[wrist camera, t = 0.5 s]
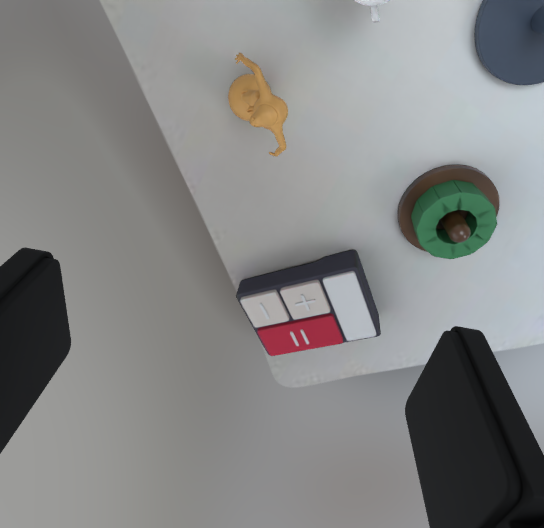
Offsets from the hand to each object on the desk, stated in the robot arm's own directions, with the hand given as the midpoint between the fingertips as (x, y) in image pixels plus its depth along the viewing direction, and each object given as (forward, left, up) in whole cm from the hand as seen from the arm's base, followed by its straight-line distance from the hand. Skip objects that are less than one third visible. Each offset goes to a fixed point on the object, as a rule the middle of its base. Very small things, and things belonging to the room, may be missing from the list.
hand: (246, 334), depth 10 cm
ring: (+11, +18, -33) cm, 39 cm away
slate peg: (-7, +19, -34) cm, 40 cm away
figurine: (+2, -3, -34) cm, 34 cm away
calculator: (+26, +6, -34) cm, 43 cm away
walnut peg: (+11, +18, -34) cm, 40 cm away
